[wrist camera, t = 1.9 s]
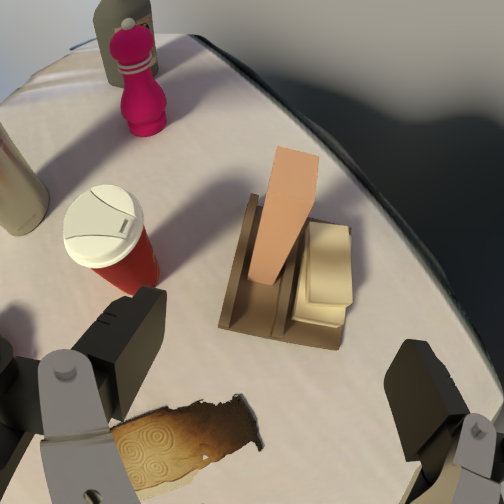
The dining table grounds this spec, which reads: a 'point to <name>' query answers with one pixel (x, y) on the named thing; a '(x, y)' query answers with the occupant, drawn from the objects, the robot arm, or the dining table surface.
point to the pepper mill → (138, 79)
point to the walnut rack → (270, 294)
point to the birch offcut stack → (323, 276)
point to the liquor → (109, 22)
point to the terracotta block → (283, 212)
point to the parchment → (181, 443)
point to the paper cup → (111, 238)
